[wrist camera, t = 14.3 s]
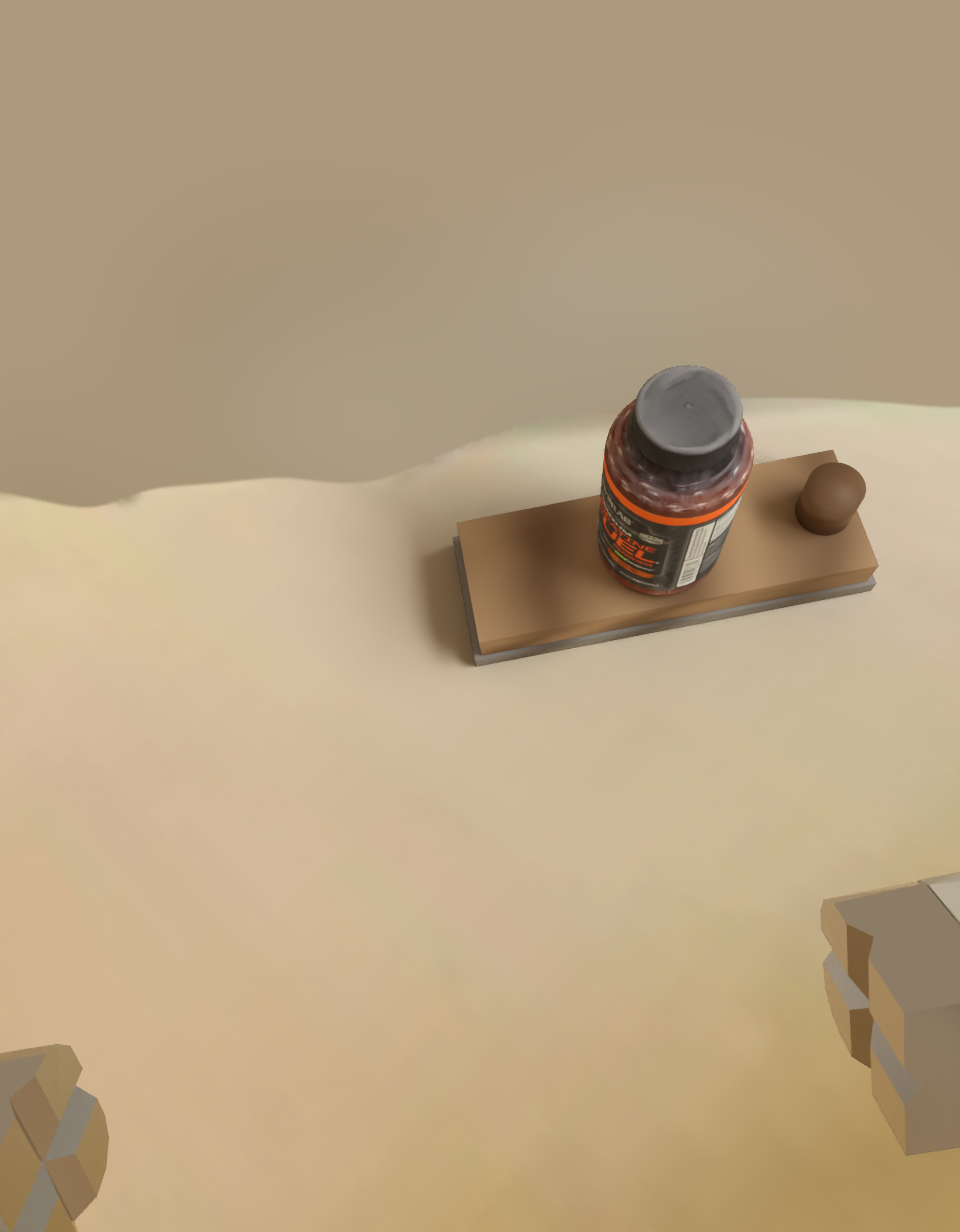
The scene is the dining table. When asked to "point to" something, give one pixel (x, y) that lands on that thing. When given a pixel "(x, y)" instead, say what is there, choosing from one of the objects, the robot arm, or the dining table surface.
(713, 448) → the supplement bottle
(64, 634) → the dining table surface
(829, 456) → the body
